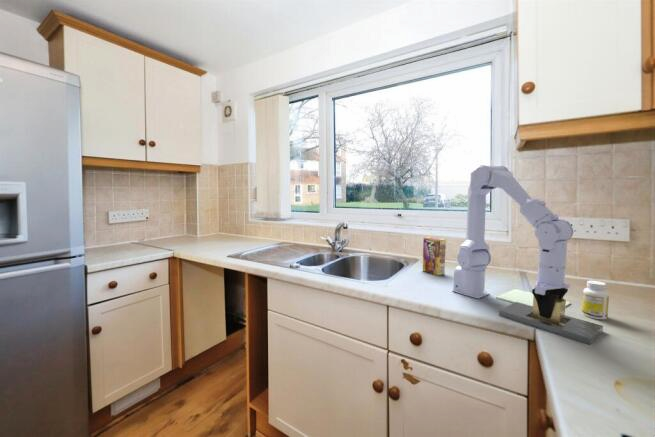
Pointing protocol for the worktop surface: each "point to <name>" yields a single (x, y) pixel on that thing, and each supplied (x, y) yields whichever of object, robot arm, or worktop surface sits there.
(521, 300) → the sage mat
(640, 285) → the worktop surface
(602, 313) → the supplement bottle
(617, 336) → the worktop surface
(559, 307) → the tan rectangular block
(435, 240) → the candy box
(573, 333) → the iron frame
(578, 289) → the worktop surface
